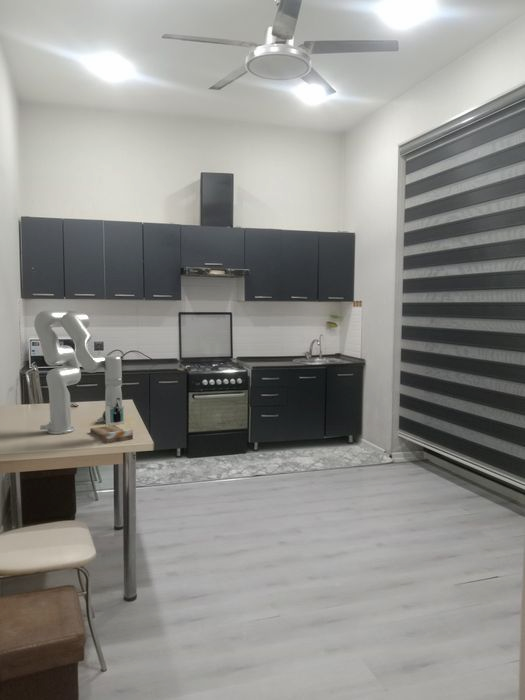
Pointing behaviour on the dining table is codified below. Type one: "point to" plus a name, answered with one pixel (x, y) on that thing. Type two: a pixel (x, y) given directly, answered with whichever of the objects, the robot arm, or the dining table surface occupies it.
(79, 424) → the dining table surface
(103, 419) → the ceramic mug
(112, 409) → the carton
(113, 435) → the shelf board
